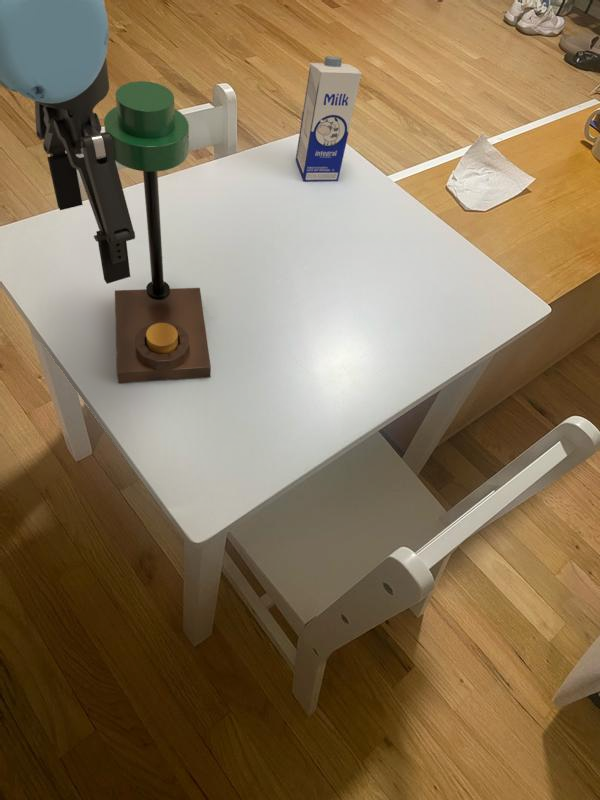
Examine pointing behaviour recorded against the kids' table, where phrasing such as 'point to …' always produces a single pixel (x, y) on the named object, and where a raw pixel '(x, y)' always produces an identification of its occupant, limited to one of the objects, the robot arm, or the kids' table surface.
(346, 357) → the kids' table surface
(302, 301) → the kids' table surface
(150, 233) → the lamp
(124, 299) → the lamp base
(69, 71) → the robot arm
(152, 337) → the lamp switch
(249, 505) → the kids' table surface
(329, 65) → the milk carton
